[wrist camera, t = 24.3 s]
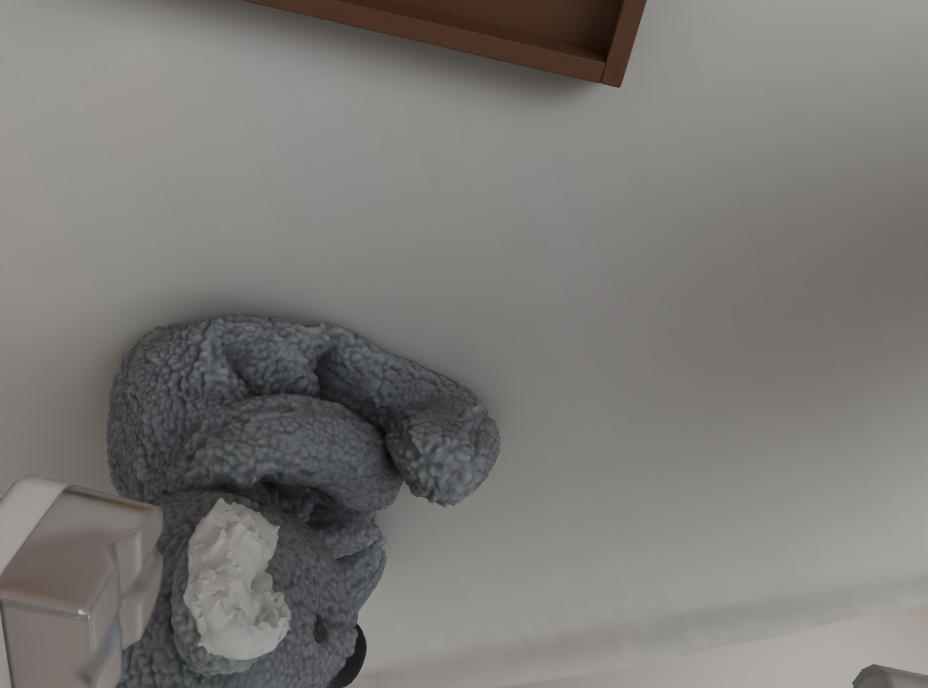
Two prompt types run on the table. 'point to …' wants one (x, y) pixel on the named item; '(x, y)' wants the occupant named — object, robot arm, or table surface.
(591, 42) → the tray
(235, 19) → the table surface
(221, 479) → the koala plush
